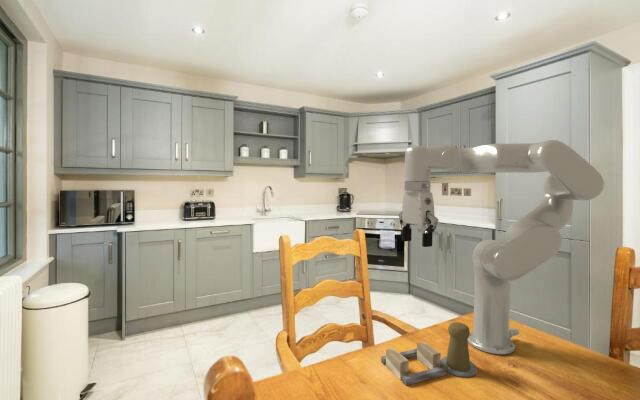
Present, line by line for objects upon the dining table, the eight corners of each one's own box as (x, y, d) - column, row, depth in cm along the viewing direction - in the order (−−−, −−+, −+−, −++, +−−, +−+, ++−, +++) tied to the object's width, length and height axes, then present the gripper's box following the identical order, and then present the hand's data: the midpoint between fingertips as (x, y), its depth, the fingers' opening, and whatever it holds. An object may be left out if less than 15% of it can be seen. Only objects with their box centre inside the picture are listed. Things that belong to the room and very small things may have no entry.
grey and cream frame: (418, 353, 91) (418, 338, 91) (446, 374, 81) (446, 357, 81) (381, 361, 87) (381, 345, 87) (405, 385, 77) (406, 367, 76)
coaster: (458, 355, 90) (458, 353, 90) (485, 372, 82) (485, 370, 82) (432, 361, 87) (432, 359, 87) (458, 380, 79) (458, 378, 78)
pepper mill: (473, 373, 81) (474, 330, 80) (448, 370, 82) (449, 328, 81) (467, 360, 87) (468, 320, 86) (443, 357, 88) (444, 318, 87)
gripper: (448, 187, 90) (446, 248, 91) (409, 187, 106) (409, 238, 107) (426, 187, 87) (425, 249, 88) (390, 187, 103) (390, 240, 104)
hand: (416, 243), depth 97 cm, fingers open, 9 cm apart
